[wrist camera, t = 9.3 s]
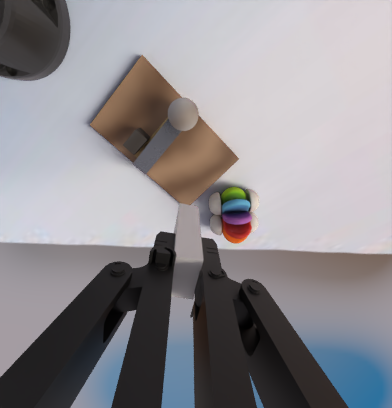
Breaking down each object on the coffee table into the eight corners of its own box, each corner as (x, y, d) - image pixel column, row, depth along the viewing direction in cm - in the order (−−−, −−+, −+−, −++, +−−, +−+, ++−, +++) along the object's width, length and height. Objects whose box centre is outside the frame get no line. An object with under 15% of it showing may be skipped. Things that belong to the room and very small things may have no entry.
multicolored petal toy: (209, 231, 42) (213, 255, 35) (207, 184, 38) (211, 201, 31) (253, 228, 42) (265, 251, 35) (255, 181, 38) (269, 196, 31)
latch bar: (170, 116, 32) (168, 117, 29) (183, 128, 32) (182, 130, 30) (137, 159, 34) (132, 163, 31) (149, 169, 35) (146, 174, 32)
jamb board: (92, 124, 33) (75, 127, 28) (146, 52, 29) (137, 41, 25) (186, 206, 39) (186, 220, 34) (240, 155, 36) (248, 162, 31)
